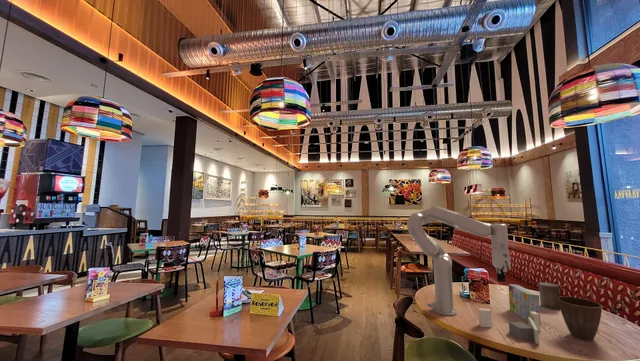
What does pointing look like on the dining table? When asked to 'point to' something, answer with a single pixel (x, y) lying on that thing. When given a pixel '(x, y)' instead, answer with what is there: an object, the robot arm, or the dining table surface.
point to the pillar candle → (549, 295)
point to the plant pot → (580, 316)
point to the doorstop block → (521, 330)
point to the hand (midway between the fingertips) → (501, 281)
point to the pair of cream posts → (486, 318)
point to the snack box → (523, 301)
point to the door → (535, 330)
